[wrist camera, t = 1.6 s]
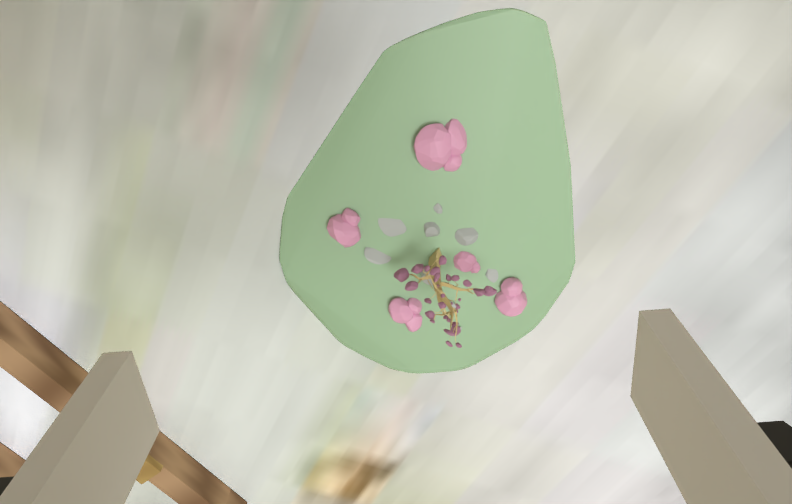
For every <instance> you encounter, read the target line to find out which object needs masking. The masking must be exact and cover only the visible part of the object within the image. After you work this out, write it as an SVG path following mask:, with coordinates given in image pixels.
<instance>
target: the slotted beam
mask: <svg viewBox="0 0 792 504" xmlns="http://www.w3.org/2000/svg"><path fill="white" fill-rule="evenodd" d="M0 367H1V368H3V369H4V370H5V371H7V372H8V373H9V374H11V375H12V376H13V377H14V378H16V379H17V380H18V381H20V382H21V383H22V384H24V385H25V386H26V387H27V388H29V389H30V390H31V391H33V392H34V393H35V394H37V395H38V396H39V397H40V398H42V399H43V400H44V401H46V402H47V403H48V404H50V405H51V406H52V407H53V408H55V409H56V410H57V411H59V412H61V411H62V409H63V408H64V407H65V405H66V404H67V402H68V401H69V400H70V398H71V397H72V395H73V394H74V393H75V391H76V390H77V389H78V387H79V386H80V384H81V383H82V382H83V380H84V379H85V377H86V376H87V375H88V372H86V371H85V370H84V369H83V368H81V367H80V366H79V365H78V364H77V363H75V362H74V361H73V360H72V359H70V358H69V357H68V356H67V355H66V354H64V353H63V352H62V351H61V350H59V349H58V348H57V347H56V346H54V345H53V344H52V343H51V342H50V341H48V340H47V339H46V338H45V337H43V336H42V335H41V334H40V333H38V332H37V331H36V330H35V329H34V328H32V327H31V326H30V325H29V324H27V323H26V322H25V321H24V320H23V319H21V318H20V317H19V316H18V315H16V314H15V313H14V312H13V311H11V310H10V309H9V308H8V307H7V306H5V305H4V304H3V303H2V302H0ZM24 462H25V460H24V459H23V458H21V457H20V456H18V455H17V454H16V453H14V452H13V451H11V450H10V449H9V448H7V447H6V446H4V445H3V444H2V443H0V477H13V476H15V475H16V473H17V472H18V471H19V469H20V468H21V466H22V465H23V464H24ZM136 480H137V481H138V482H139V483H141V484H143V483H145V482H146V481H150V482H151V483H152V484H154V485H155V486H156V487H158V488H159V489H160V490H161V491H163V492H164V493H165V494H167V495H168V496H169V497H171V498H172V499H173V500H174V501H176V502H177V503H178V504H247V502H246V501H245V500H244V499H242V498H241V497H240V496H239V495H237V494H236V493H235V492H234V491H233V490H231V489H230V488H229V487H228V486H226V485H225V484H224V483H223V482H222V481H220V480H219V479H218V478H217V477H215V476H214V475H213V474H212V473H210V472H209V471H208V470H207V469H206V468H204V467H203V466H202V465H201V464H199V463H198V462H197V461H196V460H194V459H193V458H192V457H191V456H190V455H188V454H187V453H186V452H185V451H183V450H182V449H181V448H180V447H179V446H177V445H176V444H175V443H174V442H172V441H171V440H170V439H169V438H167V437H166V436H165V435H164V434H163V433H161V432H160V431H159V433H158V435H157V437H156V439H155V441H154V443H153V446H152V448H151V450H150V452H149V454H148V456H147V458H146V460H145V462H144V464H143V466H142V468H141V470H140V472H139V474H138V476H137V478H136Z"/></svg>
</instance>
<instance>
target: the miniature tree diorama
mask: <svg viewBox="0 0 792 504" xmlns="http://www.w3.org/2000/svg"><path fill="white" fill-rule="evenodd" d="M279 259H280V263H281V266H282V269H283V272H284V276H285V279H286V281H287V283H288V285H289V286H290V288H291V289H292V290H293V292H294V293H295V294H296V295H297V296H298V297H299V298H300V299H301V301H302V302H303V303H304V304H305V305H306V306H307V307H308V308H309V309H310V310H311V312H312V313H313V314H314V315H315V316H316V317H317V318H318V319H319V320H320V321H321V322H322V324H323V325H324V326H325V327H326V328H327V329H328V330H329V331H330V332H331V333H332V334H333V336H334V337H335V338H336V339H337V340H338V341H340V342H341V343H342V344H343V345H345V346H346V347H348V348H350V349H352V350H354V351H355V352H357V353H359V354H361V355H363V356H365V357H367V358H369V359H371V360H373V361H375V362H377V363H379V364H381V365H384V366H386V367H388V368H390V369H394V370H398V371H403V372H408V373H434V372H446V371H456V370H461V369H464V368H467V367H470V366H472V365H474V364H476V363H478V362H480V361H482V360H484V359H485V358H487V357H489V356H491V355H493V354H495V353H496V352H498V351H500V350H502V349H504V348H505V347H507V346H509V345H511V344H513V343H514V342H516V341H517V340H519V339H520V338H522V337H523V336H525V335H526V334H527V333H529V332H530V331H531V330H533V329H534V328H535V327H536V326H537V325H538V324H539V322H540V321H541V320H542V319H543V318H544V317H545V315H546V314H547V313H548V311H549V310H550V308H551V307H552V305H553V304H554V302H555V301H556V300H557V298H558V297H559V295H560V294H561V292H562V291H563V289H564V288H565V286H566V285H567V284H568V282H569V280H570V277H571V274H572V270H573V267H574V264H575V247H574V226H573V205H572V184H571V165H570V158H569V151H568V145H567V138H566V131H565V124H564V118H563V111H562V104H561V98H560V91H559V84H558V78H557V71H556V64H555V59H554V55H553V51H552V46H551V42H550V37H549V33H548V28H547V24H546V22H545V21H544V20H543V19H540V18H538V17H536V16H534V15H532V14H529V13H527V12H525V11H522V10H519V9H514V8H506V9H496V10H489V11H483V12H478V13H474V14H471V15H467V16H464V17H461V18H458V19H455V20H452V21H449V22H446V23H443V24H440V25H438V26H435V27H433V28H430V29H428V30H425V31H423V32H420V33H418V34H416V35H413V36H411V37H409V38H406V39H404V40H402V41H400V42H398V43H396V44H394V45H393V46H391V47H389V48H388V49H386V50H385V51H384V52H383V53H382V54H381V56H380V57H379V59H378V60H377V62H376V63H375V65H374V66H373V68H372V69H371V71H370V72H369V74H368V75H367V77H366V78H365V80H364V81H363V83H362V84H361V85H360V87H359V89H358V90H357V92H356V93H355V95H354V96H353V98H352V99H351V101H350V102H349V104H348V105H347V107H346V108H345V110H344V111H343V113H342V114H341V116H340V118H339V119H338V121H337V122H336V124H335V125H334V127H333V128H332V130H331V131H330V133H329V134H328V136H327V137H326V139H325V140H324V142H323V144H322V145H321V147H320V148H319V150H318V151H317V153H316V154H315V156H314V157H313V159H312V160H311V162H310V163H309V165H308V166H307V168H306V169H305V171H304V173H303V174H302V176H301V177H300V179H299V180H298V182H297V183H296V185H295V186H294V188H293V189H292V191H291V192H290V194H289V196H288V198H287V201H286V205H285V209H284V213H283V217H282V227H281V241H280V256H279Z"/></svg>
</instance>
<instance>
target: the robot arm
mask: <svg viewBox="0 0 792 504" xmlns="http://www.w3.org/2000/svg"><path fill="white" fill-rule="evenodd" d="M631 398H632V400H633V402H634V404H635V406H636V408H637V410H638V412H639V413H640V415H641V417H642V419H643V421H644V423H645V425H646V427H647V429H648V431H649V433H650V434H651V436H652V438H653V440H654V442H655V444H656V446H657V448H658V450H659V452H660V454H661V455H662V457H663V459H664V461H665V463H666V465H667V467H668V469H669V471H670V473H671V475H672V477H673V478H674V480H675V482H676V484H677V486H678V488H679V490H680V492H681V494H682V496H683V498H684V499H685V501H686V503H687V504H792V427H791V426H790V425H788V424H787V423H785V422H784V421H773V422H759V423H757V422H756V421H755V420H754V418H753V417H752V416H751V414H750V413H749V412H748V411H747V409H746V408H745V407H744V405H743V404H742V403H741V401H740V400H739V399H738V397H737V396H736V395H735V393H734V392H733V391H732V389H731V388H730V387H729V385H728V384H727V383H726V382H725V380H724V379H723V378H722V376H721V375H720V374H719V372H718V371H717V370H716V368H715V367H714V366H713V364H712V363H711V362H710V360H709V359H708V358H707V356H706V355H705V354H704V353H703V351H702V350H701V349H700V347H699V346H698V345H697V343H696V342H695V341H694V339H693V338H692V337H691V335H690V334H689V333H688V331H687V330H686V329H685V328H684V326H683V325H682V324H681V322H680V321H679V320H678V318H677V317H676V316H675V314H674V313H673V312H672V310H671V309H658V310H645V311H639V319H638V329H637V338H636V348H635V357H634V367H633V377H632V386H631ZM159 431H160V429H159V427H158V424H157V421H156V418H155V415H154V413H153V410H152V407H151V404H150V401H149V398H148V396H147V393H146V390H145V387H144V384H143V382H142V379H141V376H140V373H139V370H138V367H137V365H136V362H135V359H134V356H133V353H132V351H122V352H109V353H103V354H102V355H101V356H100V358H99V359H98V361H97V362H96V363H95V365H94V366H93V368H92V369H91V370H90V372H89V373H88V375H87V376H86V377H85V379H84V380H83V382H82V383H81V384H80V386H79V387H78V389H77V390H76V391H75V393H74V394H73V395H72V397H71V398H70V400H69V401H68V402H67V404H66V405H65V407H64V408H63V409H62V411H61V412H60V414H59V415H58V416H57V418H56V419H55V421H54V422H53V423H52V425H51V426H50V427H49V429H48V430H47V432H46V433H45V434H44V436H43V437H42V439H41V440H40V441H39V443H38V444H37V446H36V447H35V448H34V450H33V451H32V453H31V454H30V455H29V457H28V458H27V460H26V461H25V462H24V464H23V465H22V466H21V468H20V469H19V471H18V472H17V473H16V475H15V476H13V477H0V504H124V503H125V501H126V499H127V497H128V495H129V493H130V491H131V489H132V487H133V485H134V483H135V481H136V478H137V476H138V474H139V472H140V470H141V468H142V466H143V464H144V462H145V460H146V458H147V456H148V454H149V452H150V450H151V448H152V446H153V443H154V441H155V439H156V437H157V435H158V433H159Z"/></svg>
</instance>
